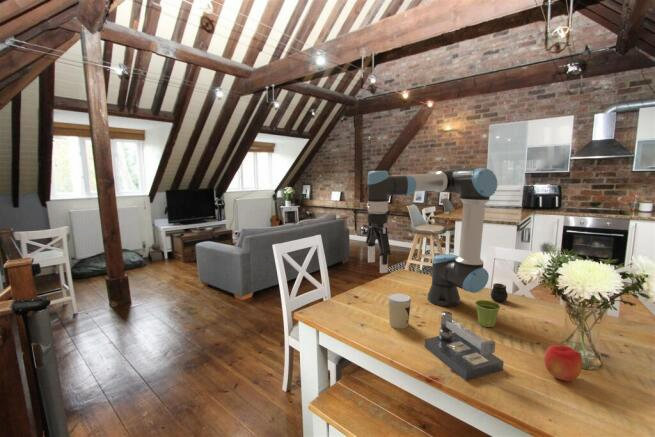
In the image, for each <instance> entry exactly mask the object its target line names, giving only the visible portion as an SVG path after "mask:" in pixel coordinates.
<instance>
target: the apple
mask: <svg viewBox="0 0 655 437" xmlns="http://www.w3.org/2000/svg"><path fill="white" fill-rule="evenodd" d="M543 362H544V366H545V368H546V371H547V372H548V373H549V374H550V375H551V376H553V377H554V378H556V379H557V380H558V379H559V380H562V381H565V382H570V381H573V380H574V379H577V378H578V377H579V375H580V374H581V373H582V369H583V359H582V356H581V354H580V352H578V351H576V350H575V349H573V348H572V347H569V346H567V345H564V344H563V345H561V344H552V345H550V346H548V347H547V349H546V351H545V353H544V361H543Z"/></svg>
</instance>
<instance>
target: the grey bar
mask: <svg viewBox="0 0 655 437" xmlns="http://www.w3.org/2000/svg"><path fill="white" fill-rule="evenodd" d="M452 318H453V314H452V312H450V311H445V310H444V311H441V315H440V328H441V330H443V331H447V332H449V331H452V333H456V334H457V335H459V336H460V337H462V338H463V339H465V340H466V341H468V342H469V343H471V344H472V345H474V346H475V347H477V348H478V349H480V350H481V352H480V354H482V355H483V356H485V355H488V354H495V351H496V350H495V349H496V341H495V340H493V339H491V340H486V339H485V338H483V337H481V336H480V335H478V334H476V333H475V332H474V331H472V330H471V329H468V328H467V327H466V326H464V325H463V324H461V323H459V322H458V321H455V320H454V319H452Z"/></svg>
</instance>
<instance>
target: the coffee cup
mask: <svg viewBox="0 0 655 437" xmlns="http://www.w3.org/2000/svg"><path fill="white" fill-rule="evenodd" d="M387 300H388V301H387V302H388V318H389V319H388V320H389V325H390V327H392V328H395V329H397V330H398V329H399V330H401V329H402V330H403V329H407V328H408V327H409V323H410V322H409V321H410V312H411V303H412V302H411V301H412V299H411V297H410V296H409V295H408V294H405V293H400V292H398V293H397V292H396V293H390V294H389V295H388V297H387Z"/></svg>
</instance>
